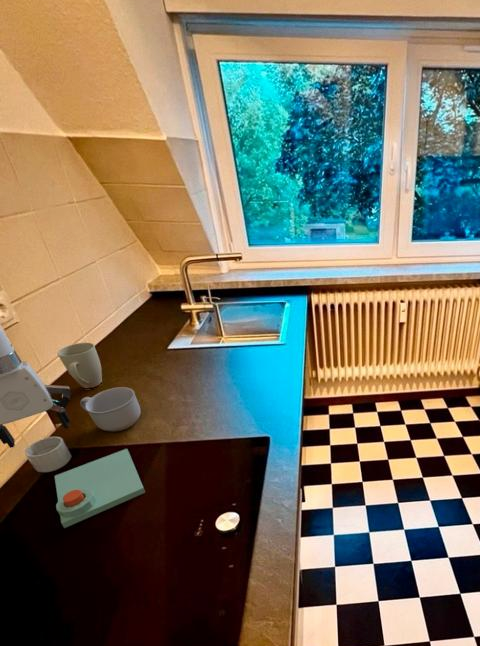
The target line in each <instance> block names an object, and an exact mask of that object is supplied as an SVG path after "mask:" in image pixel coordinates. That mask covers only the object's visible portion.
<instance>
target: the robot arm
mask: <svg viewBox="0 0 480 646" xmlns="http://www.w3.org/2000/svg"><path fill="white" fill-rule="evenodd" d="M52 394H61V397H60V398H59V400H57V399H53V398H52ZM70 398H71V387H70V386H67V385H55V384H54V385H53V384H45V383H44V381H43V380H42V379H41V377H40V376H39V375H38V373H37V372H36V370H34V368H33V367H32V366H31V365H30V364H29V363H28V362H27V361H26V360H22V359H21V358H20V356H19V354H18V353H17V351H16V349H15V347H14V346H13V344H12V343H11V341H10V339H9V337H8V336H7V334H6V333H5V331H4V329H3V327H2V326H1V325H0V441H1V443H2V444H3V445H5V444H7V446H8V447H9V448H10V449H11V448H14V447H15V446H16V445H15V442H16V441H15V438H14V436H13V435H12V434H11V432H10V431H9V430H8V428H7V427H6V424H9V423H14V422H16V421H19V420H23V419H25V418H28V417H32V416H35V415H38V414H41V413H44V412H47V411H49V410H51V411H55V414H56V416H57V418H58V420H59V422H60V423H61V425H62V426H63V428H64V429H69V428H70V427H69V423H70V422H71V419H70V417H69V414H68V413H67V411H66V410H65V409H66V407H67V406H68V404H69V402H70Z"/></svg>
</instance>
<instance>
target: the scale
mask: <svg viewBox="0 0 480 646" xmlns="http://www.w3.org/2000/svg"><path fill="white" fill-rule="evenodd" d="M54 482H55V483H54V484H55V489H56V497H57V503H56V505H55V509H56V511H57V513H58V515H59V516H60V517H59V518H60V523H61V525H62V527H63V528H64V529H66V528H68V527H71V526H73V525H75V524H77V523H80V522H82V521H84V520H86V519H88V518H90V517H93V516H95V515H98V514H100V513H102V512H104V511H107V510H109V509H111V508H113V507H115V506H118V505H120V504H123V503H125V502H127V501H130V500H132V499H134V498H136V497H138V496H141V495H143V494H145V493H146V489H145V488H144V485H143V483H142V481H141V477H140V476H139V473H138V471H137V469H136V466H135V463H134V461H133V459H132V456H131V454H130V451H129V450H128V448H124V449H122V450H119V451H117V452H114V453H111V454H109V455H106V456H103V457H100V458H98V459H95V460H93V461H90V462H87V463H85V464H82V465H79V466H77V467H74V468H72V469H69V470H67V471H63V472H61V473H58V474H56V475H54ZM73 490H80V491H81V492H82V494H83V495H84V500H83V501H82V502H81V503H80V504H78V505H76V506H73V507H68V506H66V504H65V503H64V501H63V497H64V495H65V494H67V493H68V492H70V491H73Z"/></svg>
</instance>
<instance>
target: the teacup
mask: <svg viewBox="0 0 480 646" xmlns="http://www.w3.org/2000/svg"><path fill="white" fill-rule="evenodd" d="M79 404H80V406H81V408H82V409H83V410H84V411H85V412H87V413H88V414H89V416H90V418H91V420H92V421H93V423H94V425H95V426H96V427H97V428H99V429H100V430H102V431H106V432H121V431H125V430H127V429H129V428H131V427H132V426H134V425H135V424H136V422H137V421H138V419H139V418H140V416H141V412H142V411H141V410H142V409H141V407H140V404H139V402H138V398H137V396H136V392H135V391H134V390H133V389H132V388H130V387H125V386H122V387H121V386H120V387H113V388H108V389H106V390H102V391H100V392H98V393H96V394H95V395H92V397H90V396H85V397H83V398H82V399H81V400H80V402H79Z"/></svg>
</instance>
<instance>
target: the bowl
mask: <svg viewBox="0 0 480 646" xmlns="http://www.w3.org/2000/svg"><path fill="white" fill-rule="evenodd" d="M69 449H70V448H68V446H67V444H66V442H65V441H64V439H63V438H62V437H60V436H47V437H44V438H42V439H38V440H36V441H35V442H33V443H31V444H30V445H29V446H27V447H26V449H25V450H24V454H25V457H26V458H27V460H28V461H29V463H30V464H31V466H32V467H33V469H34V470H35V471H36V472H38V473H50V472H54V471H57V470H59V469H61V468H63V467H64V466H66V465H67V464H68V463H69V462H70V461H71V459H72V453H71V451H70V450H69Z"/></svg>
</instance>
